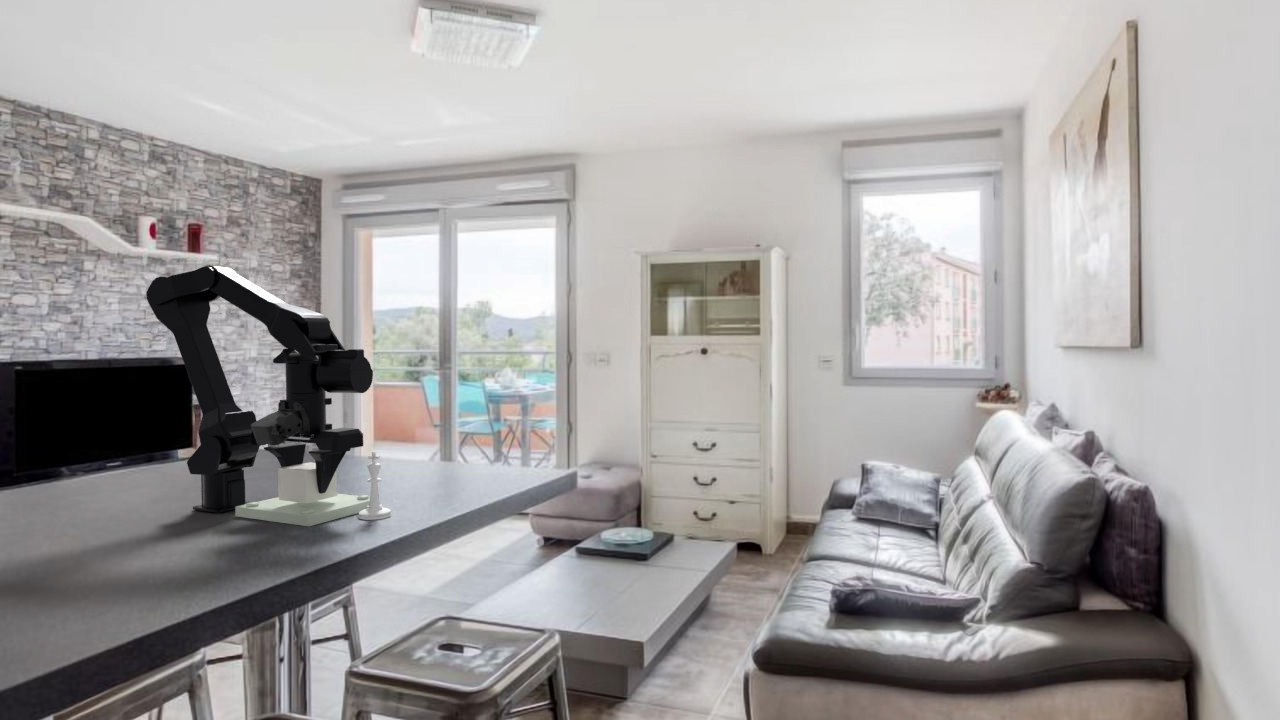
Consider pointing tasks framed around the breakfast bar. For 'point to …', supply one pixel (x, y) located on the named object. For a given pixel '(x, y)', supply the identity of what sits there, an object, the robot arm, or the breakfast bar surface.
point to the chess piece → (374, 494)
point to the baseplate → (304, 509)
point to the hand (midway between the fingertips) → (307, 491)
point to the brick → (303, 484)
